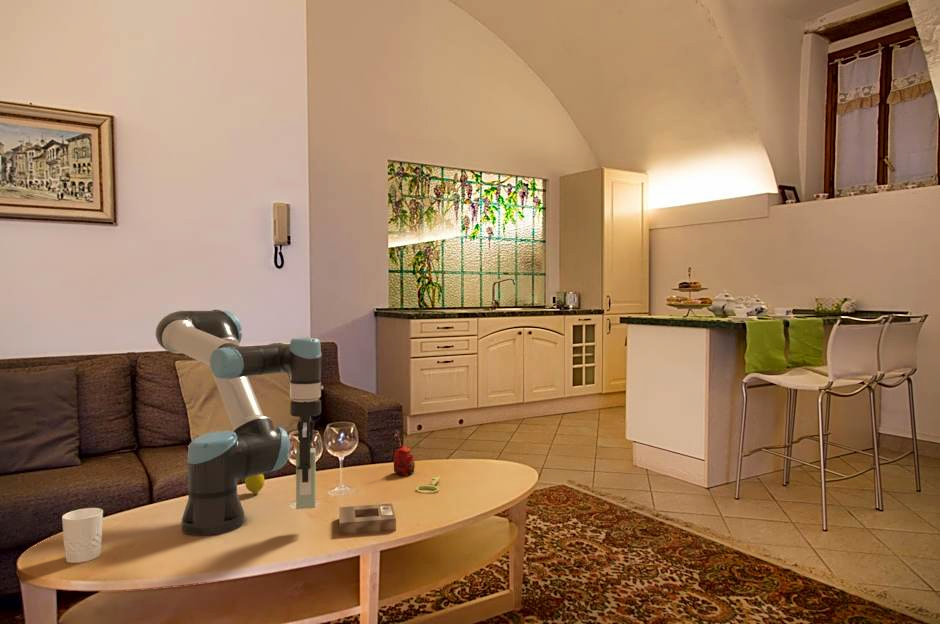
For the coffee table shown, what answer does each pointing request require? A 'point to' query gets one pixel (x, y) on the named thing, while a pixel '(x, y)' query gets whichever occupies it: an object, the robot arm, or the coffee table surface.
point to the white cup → (82, 534)
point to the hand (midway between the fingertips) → (306, 490)
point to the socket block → (366, 519)
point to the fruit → (254, 483)
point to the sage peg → (310, 499)
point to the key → (429, 487)
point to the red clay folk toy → (403, 460)
